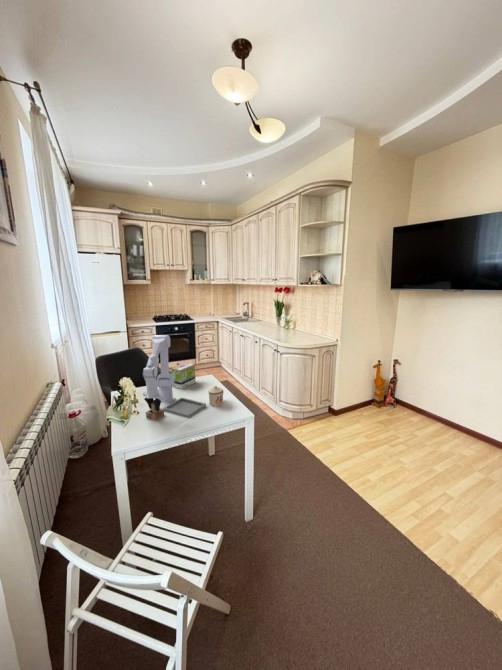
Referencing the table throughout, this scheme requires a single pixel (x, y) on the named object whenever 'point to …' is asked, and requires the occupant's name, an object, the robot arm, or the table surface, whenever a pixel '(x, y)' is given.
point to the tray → (184, 407)
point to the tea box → (183, 375)
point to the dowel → (153, 408)
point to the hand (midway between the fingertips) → (154, 409)
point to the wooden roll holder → (156, 415)
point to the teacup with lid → (215, 396)
